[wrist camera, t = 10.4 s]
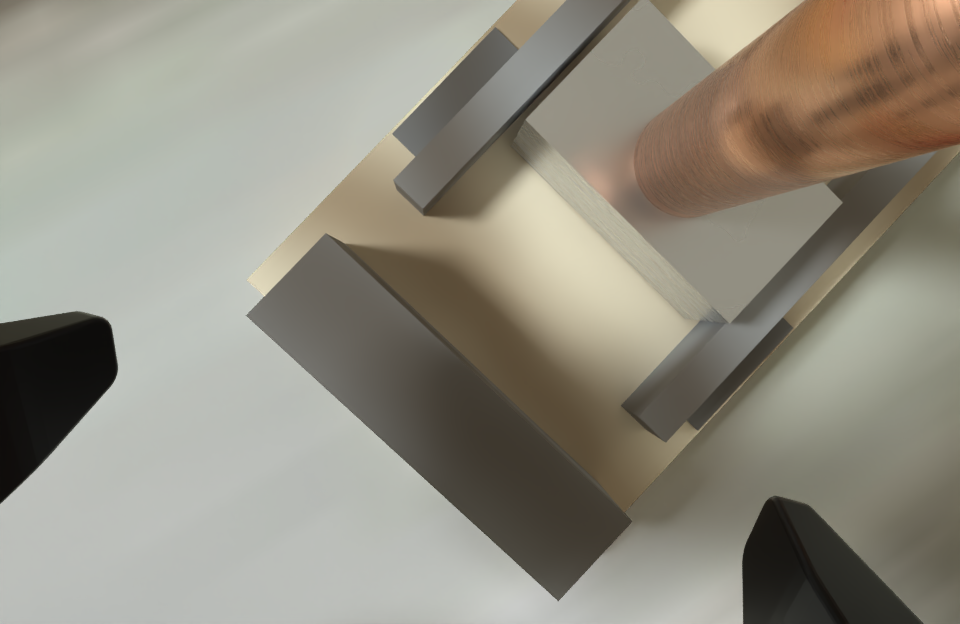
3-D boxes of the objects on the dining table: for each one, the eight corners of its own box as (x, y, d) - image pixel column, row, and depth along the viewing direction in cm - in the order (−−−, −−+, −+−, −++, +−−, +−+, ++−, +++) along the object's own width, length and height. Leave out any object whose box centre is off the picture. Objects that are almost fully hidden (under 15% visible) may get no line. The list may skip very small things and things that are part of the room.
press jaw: (684, 318, 17) (1387, 397, 5) (510, 146, 17) (759, -310, 4) (781, 215, 17) (1727, 13, 5) (611, 41, 17) (1162, -726, 4)
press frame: (556, 551, 19) (595, 634, 14) (262, 281, 18) (204, 277, 13) (958, 119, 19) (1118, 67, 15) (694, -167, 18) (779, -317, 14)
